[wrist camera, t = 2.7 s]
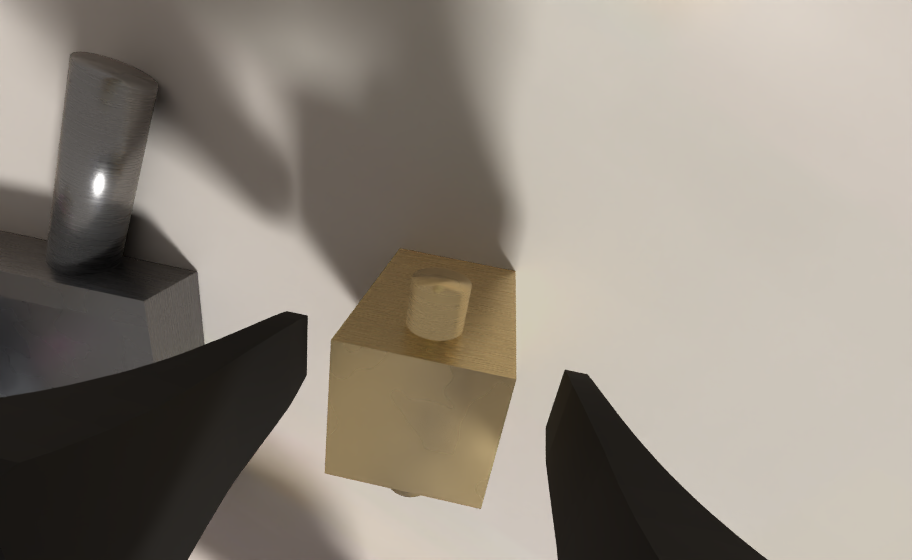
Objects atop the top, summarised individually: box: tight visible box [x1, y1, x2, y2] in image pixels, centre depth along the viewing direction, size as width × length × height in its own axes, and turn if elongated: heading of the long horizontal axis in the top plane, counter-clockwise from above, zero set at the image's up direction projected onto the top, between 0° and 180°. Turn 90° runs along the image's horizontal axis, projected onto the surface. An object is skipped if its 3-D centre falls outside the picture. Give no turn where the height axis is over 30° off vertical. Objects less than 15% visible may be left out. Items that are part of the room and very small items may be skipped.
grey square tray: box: [0, 231, 204, 398], centre depth 17 cm, size 11×11×2 cm
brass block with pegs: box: [325, 248, 516, 509], centre depth 12 cm, size 6×4×6 cm, turn 171°
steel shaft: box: [45, 52, 158, 275], centre depth 14 cm, size 7×2×2 cm, turn 151°
